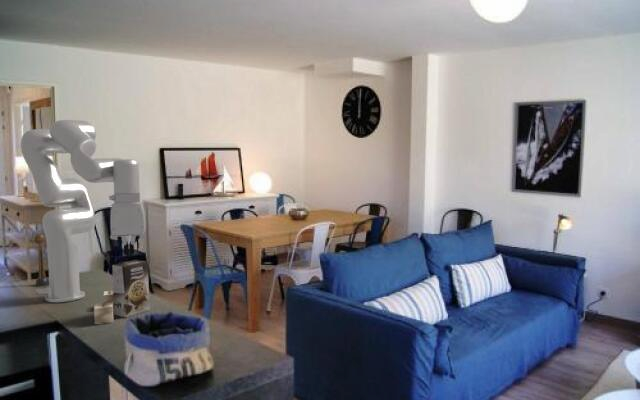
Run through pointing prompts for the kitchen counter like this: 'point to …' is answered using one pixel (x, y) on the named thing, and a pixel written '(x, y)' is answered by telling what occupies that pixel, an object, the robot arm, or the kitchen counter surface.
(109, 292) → the marked block back
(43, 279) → the wooden tabletop sculpture
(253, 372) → the kitchen counter surface
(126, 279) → the coffee box
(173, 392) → the kitchen counter surface
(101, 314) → the marked block front
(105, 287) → the kitchen counter surface
